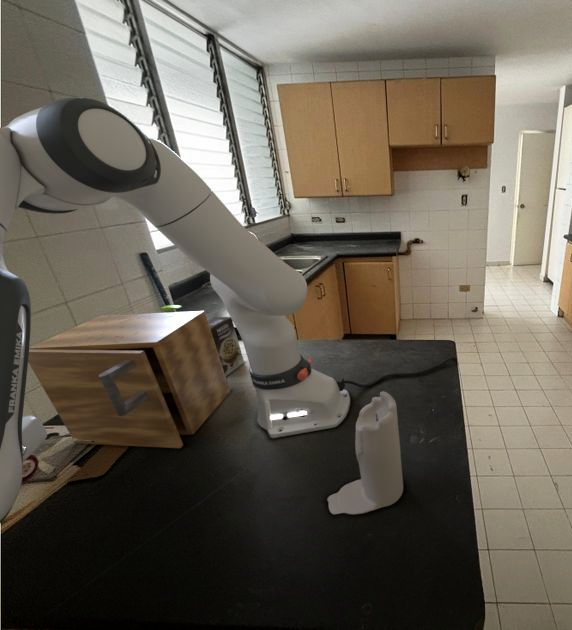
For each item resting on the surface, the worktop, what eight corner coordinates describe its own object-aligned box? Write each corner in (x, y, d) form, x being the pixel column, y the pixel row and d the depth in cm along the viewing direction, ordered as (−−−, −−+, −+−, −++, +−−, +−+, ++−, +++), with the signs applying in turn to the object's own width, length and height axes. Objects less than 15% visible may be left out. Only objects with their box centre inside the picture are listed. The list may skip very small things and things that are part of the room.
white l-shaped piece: (326, 489, 63) (307, 402, 55) (397, 469, 66) (390, 384, 58) (328, 525, 56) (308, 432, 48) (407, 499, 60) (400, 409, 52)
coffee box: (225, 378, 100) (209, 329, 94) (206, 376, 101) (190, 328, 95) (245, 362, 108) (232, 316, 102) (228, 360, 109) (214, 315, 103)
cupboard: (193, 434, 78) (156, 342, 68) (80, 439, 78) (28, 348, 68) (230, 391, 94) (204, 310, 84) (136, 395, 94) (100, 315, 84)
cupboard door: (158, 469, 69) (111, 369, 59) (46, 463, 71) (-16, 367, 62) (183, 445, 75) (144, 350, 65) (79, 440, 78) (27, 349, 68)
